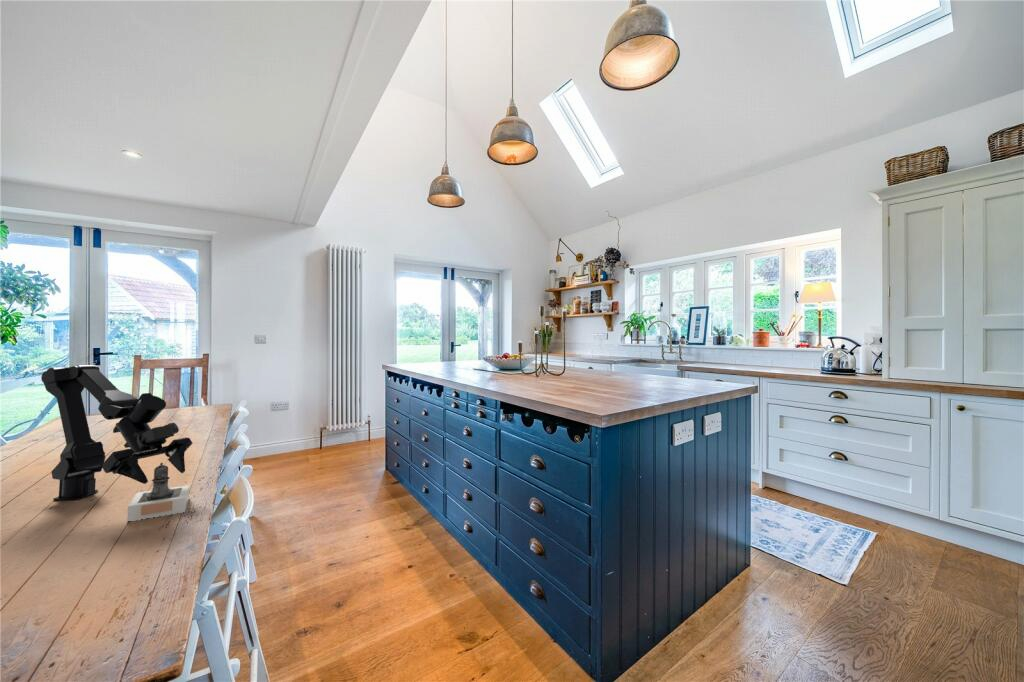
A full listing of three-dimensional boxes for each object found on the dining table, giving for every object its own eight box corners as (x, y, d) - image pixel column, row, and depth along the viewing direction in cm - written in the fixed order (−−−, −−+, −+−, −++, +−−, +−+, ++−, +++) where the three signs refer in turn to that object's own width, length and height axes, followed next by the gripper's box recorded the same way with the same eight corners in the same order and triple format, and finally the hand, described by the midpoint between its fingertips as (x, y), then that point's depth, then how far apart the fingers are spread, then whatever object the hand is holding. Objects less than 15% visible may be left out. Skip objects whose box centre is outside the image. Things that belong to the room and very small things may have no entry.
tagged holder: (126, 522, 96) (127, 507, 96) (136, 507, 106) (137, 492, 106) (184, 512, 103) (185, 498, 103) (188, 498, 112) (189, 485, 112)
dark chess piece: (163, 509, 102) (166, 465, 102) (138, 510, 101) (141, 465, 101) (179, 501, 108) (181, 459, 108) (155, 502, 107) (157, 459, 107)
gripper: (112, 420, 97) (142, 468, 94) (189, 410, 115) (216, 450, 112) (88, 449, 99) (117, 496, 96) (168, 434, 117) (194, 473, 114)
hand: (165, 477), depth 104 cm, fingers open, 9 cm apart
